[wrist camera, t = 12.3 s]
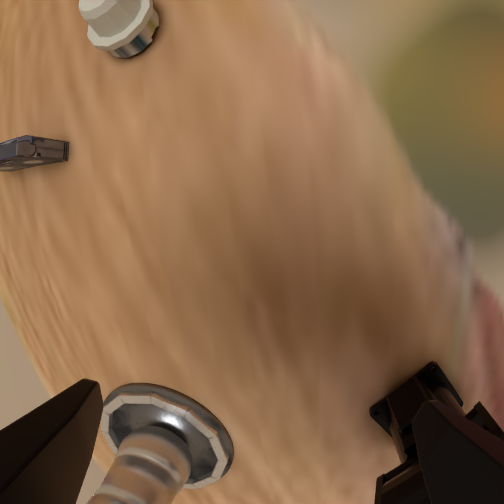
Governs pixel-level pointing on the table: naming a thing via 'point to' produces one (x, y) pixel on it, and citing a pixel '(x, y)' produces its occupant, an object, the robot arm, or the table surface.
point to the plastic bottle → (146, 469)
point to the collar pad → (170, 426)
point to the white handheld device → (120, 24)
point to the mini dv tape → (31, 152)
